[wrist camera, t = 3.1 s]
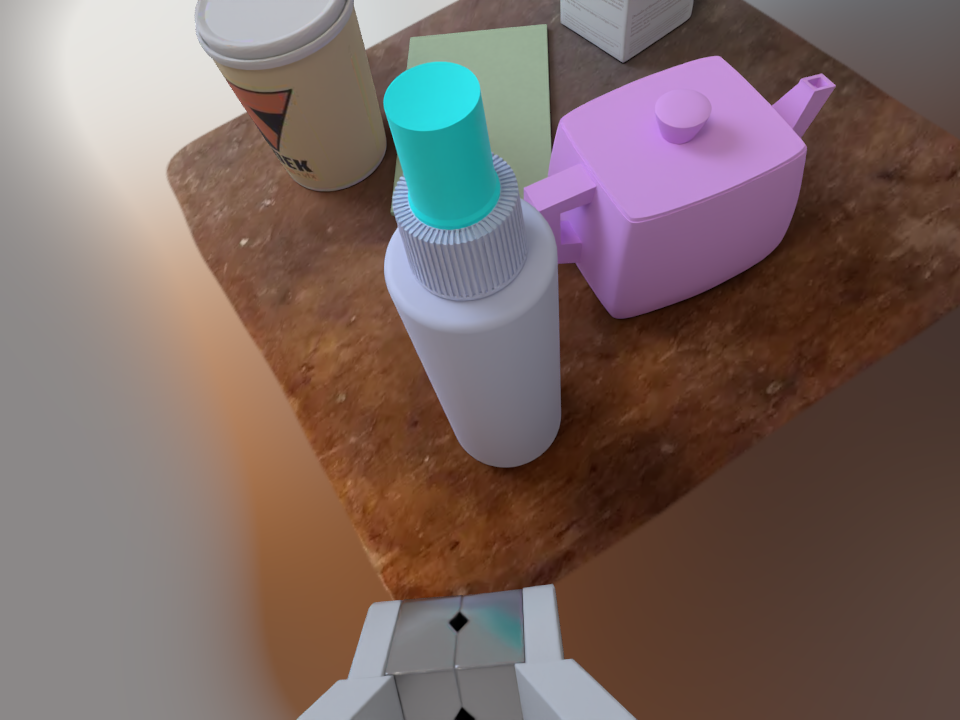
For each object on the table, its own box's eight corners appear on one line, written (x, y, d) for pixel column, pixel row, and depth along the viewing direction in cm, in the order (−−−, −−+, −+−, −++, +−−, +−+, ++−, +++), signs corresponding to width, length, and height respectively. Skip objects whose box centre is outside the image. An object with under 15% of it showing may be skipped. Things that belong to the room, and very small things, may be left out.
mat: (391, 215, 43) (390, 212, 42) (411, 41, 51) (410, 37, 50) (553, 205, 41) (553, 201, 41) (547, 28, 49) (546, 23, 49)
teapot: (740, 129, 42) (788, -20, 33) (841, 240, 37) (928, 101, 28) (498, 229, 41) (479, 103, 32) (570, 357, 36) (571, 251, 27)
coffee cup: (253, 153, 47) (162, 1, 37) (352, 89, 49) (293, -73, 38) (317, 223, 43) (236, 75, 33) (423, 150, 45) (379, -12, 35)
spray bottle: (582, 431, 34) (604, 107, 15) (489, 491, 33) (380, 231, 14) (522, 351, 37) (472, -14, 17) (434, 404, 36) (277, 84, 16)
